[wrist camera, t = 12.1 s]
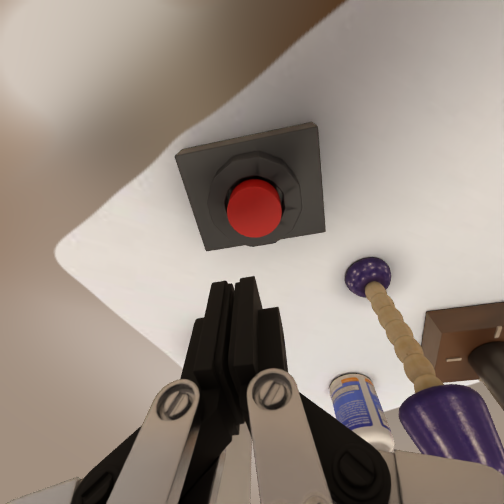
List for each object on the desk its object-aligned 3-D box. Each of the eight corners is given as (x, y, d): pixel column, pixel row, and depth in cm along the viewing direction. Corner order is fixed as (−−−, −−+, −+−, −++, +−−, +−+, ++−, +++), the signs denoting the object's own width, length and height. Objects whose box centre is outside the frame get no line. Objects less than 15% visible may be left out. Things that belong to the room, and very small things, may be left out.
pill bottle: (323, 394, 38) (340, 483, 29) (338, 368, 35) (362, 459, 27) (361, 400, 38) (389, 489, 30) (379, 375, 35) (416, 467, 27)
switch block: (312, 121, 21) (323, 130, 17) (320, 220, 25) (330, 243, 21) (181, 149, 22) (166, 162, 18) (209, 239, 26) (202, 263, 22)
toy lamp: (403, 269, 27) (562, 481, 13) (372, 302, 29) (478, 514, 15) (362, 250, 26) (484, 456, 12) (333, 286, 28) (407, 495, 14)
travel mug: (217, 317, 31) (165, 612, 14) (264, 343, 33) (270, 629, 16) (187, 347, 34) (113, 626, 17) (233, 370, 36) (208, 639, 19)
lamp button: (275, 174, 19) (277, 182, 18) (283, 221, 21) (285, 233, 19) (223, 183, 20) (220, 192, 18) (235, 230, 21) (233, 241, 20)
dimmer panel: (531, 297, 29) (560, 320, 26) (510, 351, 33) (533, 376, 30) (426, 310, 30) (443, 333, 27) (418, 361, 34) (432, 385, 31)
